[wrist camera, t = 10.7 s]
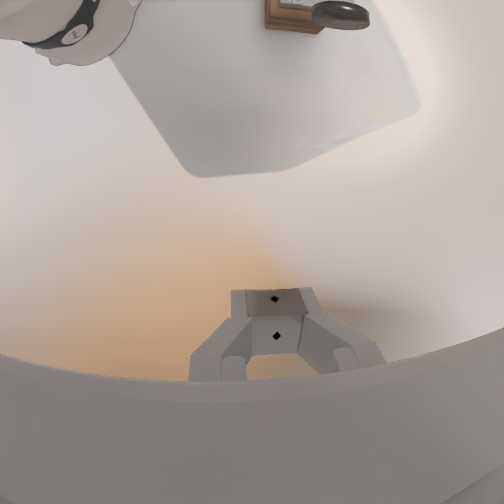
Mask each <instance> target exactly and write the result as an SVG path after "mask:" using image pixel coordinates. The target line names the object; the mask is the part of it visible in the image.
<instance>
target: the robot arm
mask: <svg viewBox="0 0 504 504" xmlns="http://www.w3.org/2000/svg"><path fill="white" fill-rule="evenodd" d="M141 1H142V0H0V39H9V40H18V41H22V43H24V44H25V45H28V46H29V47H32V48H35V49H36V50H35V52H36V53H37V54H40V55H42V56H45V57H48V58H49V61H50V64H52V65H54V66H58V65H62V64H66V63H68V64H72V65H78V66H84V65H90V64H93V63H96V62H98V61H100V60H102V59H104V58H105V57H107V56H108V55H110V54H111V53H112V52H113V51H114V50H116V49H117V48H118V47H119V45H120V44H121V43H122V42H123V41H124V39H125V38H126V36H127V35H128V33H129V31H130V29H131V26H132V23H133V19H134V14H135V11H136V9H137V7H138V6H139V4H140V3H141ZM280 353H298V354H299V355H300V356H301V357H302V358H303V359H304V360H305V361H306V362H307V363H308V364H309V365H310V366H311V367H312V368H313V369H314V370H315V371H317V372H318V373H319V375H312V376H303V377H293V378H282V379H270V380H255V381H247V375H246V365H247V363H248V362H249V360H250V359H251V357H252V356H253V355H266V354H280ZM0 504H504V328H502V329H499V330H497V331H494V332H492V333H489V334H486V335H483V336H481V337H478V338H475V339H472V340H470V341H466V342H463V343H460V344H457V345H454V346H451V347H447V348H444V349H441V350H437V351H434V352H430V353H427V354H423V355H419V356H416V357H411V358H407V359H403V360H399V361H394V362H390V363H387V362H386V360H385V359H384V357H383V355H382V353H381V351H380V350H379V348H378V346H377V344H376V342H374V341H372V340H371V339H369V338H368V337H366V336H364V335H363V334H361V333H359V332H358V331H356V330H354V329H353V328H351V327H350V326H348V325H346V324H344V323H343V322H341V321H339V320H338V319H336V318H335V317H333V316H331V315H330V314H328V313H323V311H322V309H321V307H320V305H319V302H318V300H317V298H316V296H315V294H314V292H313V290H312V288H311V287H305V288H294V289H277V290H272V289H268V290H267V289H265V290H231V318H227V319H226V320H225V321H224V322H223V323H222V324H221V325H220V326H219V328H217V329H216V330H215V332H213V334H212V335H211V336H210V337H209V338H208V339H207V340H206V341H205V342H204V343H203V344H202V345H201V346H200V347H199V348H198V349H197V350H196V351H195V352H194V353H193V354H192V355H191V359H190V368H189V378H188V381H164V380H148V379H136V378H125V377H116V376H107V375H99V374H93V373H86V372H79V371H73V370H67V369H63V368H57V367H52V366H48V365H43V364H39V363H34V362H30V361H26V360H22V359H18V358H14V357H11V356H7V355H4V354H0Z"/></svg>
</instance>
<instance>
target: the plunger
mask: <svg viewBox="0 0 504 504" xmlns="http://www.w3.org/2000/svg"><path fill="white" fill-rule="evenodd" d="M279 7H288V8H296V9H303V10H309V11H311V19H312V21H313V22H315V23H316V24H319V25H321V26H324V27H328V28H333V29H340V30H359V29H364V28H367V27H368V26H369V25H370V21H369V12H368V11H367V10H366V9H364V8H363V7H361V6H359V5H356V4H354V0H279Z"/></svg>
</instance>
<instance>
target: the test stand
mask: <svg viewBox="0 0 504 504" xmlns="http://www.w3.org/2000/svg"><path fill="white" fill-rule="evenodd" d="M324 28H325V27H324V26H321V25H319V24H316V23H315V22H313V21H312V19H311V11H309V10H303V9H296V8H288V7H279V0H266V9H265V29H277V30H287V31H296V32H303V33H310V34H318V33H319V32H320V31H321V30H323V29H324Z"/></svg>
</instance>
